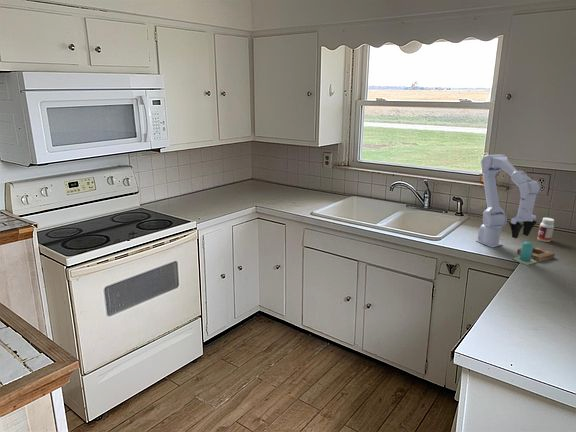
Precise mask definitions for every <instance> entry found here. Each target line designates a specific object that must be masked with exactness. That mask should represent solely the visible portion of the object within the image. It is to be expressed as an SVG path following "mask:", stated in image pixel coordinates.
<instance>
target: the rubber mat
mask: <svg viewBox="0 0 576 432" xmlns="http://www.w3.org/2000/svg"><path fill="white" fill-rule="evenodd" d="M519 258H520V255H519V256H515V257H513V258H512V260H513V259H514V260H513V261H515V260H516V262H518V263H521V264H523V265H525V266H528V265H532V264H536V263H538V261H535V260H533V259H531V260H530V261H529V262H525V261H522V260H520V259H519Z"/></svg>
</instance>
